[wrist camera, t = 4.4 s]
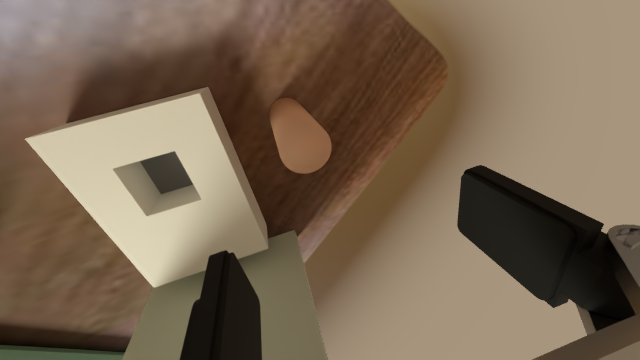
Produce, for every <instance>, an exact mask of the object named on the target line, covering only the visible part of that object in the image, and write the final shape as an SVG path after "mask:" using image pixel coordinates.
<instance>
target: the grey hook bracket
mask: <svg viewBox="0 0 640 360" xmlns="http://www.w3.org/2000/svg"><path fill="white" fill-rule="evenodd" d="M268 247H269V249H266V250H263V251H260V252H257V253H254V254H251V255H248V256H245V257H242V258H239V259H238V261H239V263H240V265H241V266H242V268H243V270H244V272H245V274H246V276H247V277H248V279H249V281H250V283H251V285H252V287H253V288H254V290H255V292H256V294H257V296H258V298H259V301H260V310H261V342H262V360H328V358H327V354H326V350H325V346H324V342H323V338H322V334H321V330H320V326H319V322H318V318H317V314H316V310H315V306H314V302H313V298H312V294H311V290H310V286H309V282H308V278H307V274H306V270H305V266H304V262H303V258H302V254H301V250H300V246H299V242H298V238H297V235H296V232H295V230H292V231H289V232H286V233H283V234H280V235H277V236H274V237H271V238H268ZM205 272H206V270H204V271H201V272H199V273H196V274H193V275H190V276H187V277H184V278H181V279H178V280H175V281H172V282H169V283H166V284H163V285H161V286H158V287H155V288H154V287H153V288H152V290H151V293H150V295H149V297H148V300H147V302H146V304H145V307H144V309H143V311H142V314H141V316H140V318H139V321H138V323H137V326H136V328H135V330H134V333H133V335H132V337H131V340H130V342H129V344H128V347H127V349H126V352H125V354H124V356H123V359H122V360H180V355H181V351H182V347H183V343H184V339H185V335H186V330H187V326H188V322H189V318H190V314H191V309H192V306H193V303H194V302H195V301H196V300H198V299H200V295H201V291H202V286H203V281H204V277H205Z"/></svg>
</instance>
